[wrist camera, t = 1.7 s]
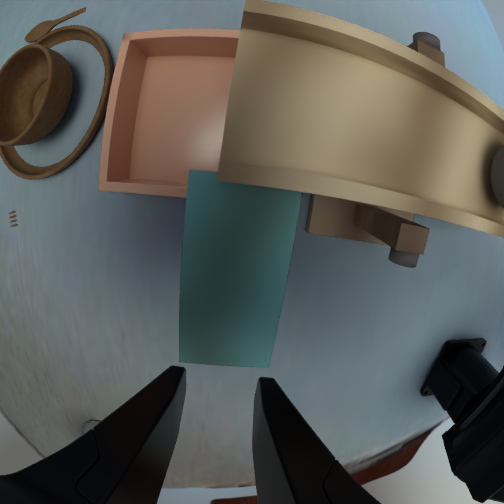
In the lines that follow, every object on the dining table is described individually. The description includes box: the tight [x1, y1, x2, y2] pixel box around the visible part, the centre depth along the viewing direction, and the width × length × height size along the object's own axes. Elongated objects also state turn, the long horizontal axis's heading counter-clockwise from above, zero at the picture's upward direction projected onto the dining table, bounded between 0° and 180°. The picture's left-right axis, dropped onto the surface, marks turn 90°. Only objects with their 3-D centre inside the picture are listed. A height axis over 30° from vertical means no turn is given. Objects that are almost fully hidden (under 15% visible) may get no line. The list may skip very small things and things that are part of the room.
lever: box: [179, 0, 504, 367], centre depth 10 cm, size 18×14×3 cm
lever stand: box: [306, 32, 445, 268], centre depth 13 cm, size 7×12×7 cm, turn 172°
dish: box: [98, 29, 240, 198], centre depth 14 cm, size 9×9×4 cm
